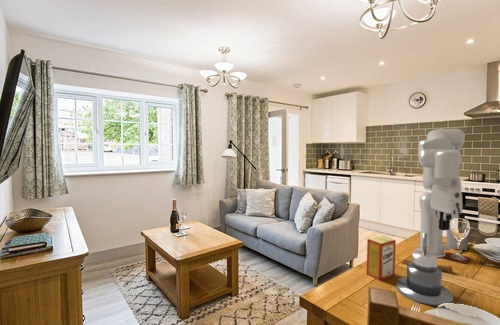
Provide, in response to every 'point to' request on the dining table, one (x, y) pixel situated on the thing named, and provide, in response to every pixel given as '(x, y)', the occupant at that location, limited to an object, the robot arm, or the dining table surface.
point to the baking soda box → (381, 257)
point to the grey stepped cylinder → (424, 287)
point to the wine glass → (453, 242)
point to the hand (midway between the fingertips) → (443, 229)
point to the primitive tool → (442, 268)
